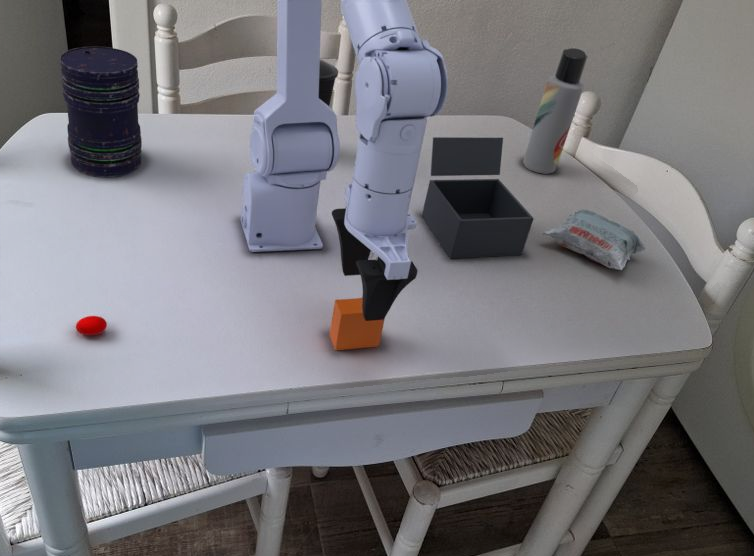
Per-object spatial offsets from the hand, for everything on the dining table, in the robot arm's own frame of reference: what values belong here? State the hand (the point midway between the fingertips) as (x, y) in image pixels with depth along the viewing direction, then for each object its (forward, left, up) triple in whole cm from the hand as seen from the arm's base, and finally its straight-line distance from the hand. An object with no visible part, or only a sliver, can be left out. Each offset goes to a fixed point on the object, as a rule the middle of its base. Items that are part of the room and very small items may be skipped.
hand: (362, 295), depth 74 cm
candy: (-27, +5, -7) cm, 28 cm away
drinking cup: (+5, +46, -7) cm, 47 cm away
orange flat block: (0, 0, -6) cm, 6 cm away
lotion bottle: (+45, +40, -7) cm, 60 cm away
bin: (+23, +20, -6) cm, 31 cm away
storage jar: (-25, +43, -7) cm, 50 cm away
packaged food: (+39, +14, -7) cm, 42 cm away
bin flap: (+23, +26, +3) cm, 35 cm away
